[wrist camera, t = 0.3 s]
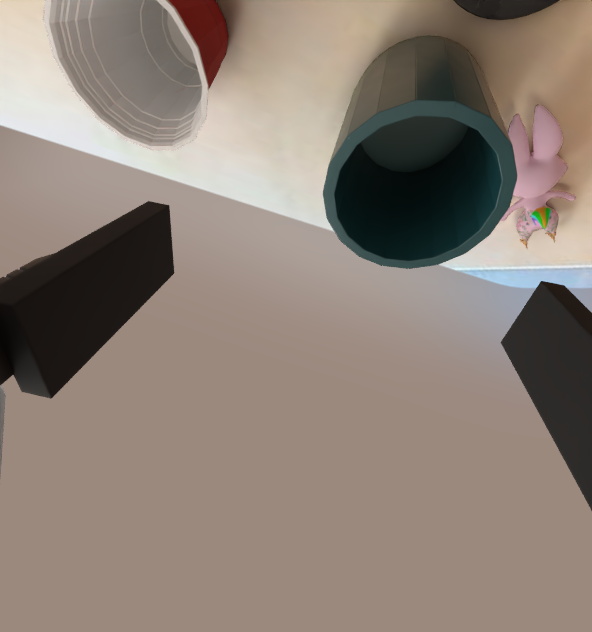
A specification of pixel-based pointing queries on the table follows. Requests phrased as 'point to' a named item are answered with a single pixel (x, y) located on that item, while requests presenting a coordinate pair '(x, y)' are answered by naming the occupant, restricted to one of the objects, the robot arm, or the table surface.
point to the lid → (503, 7)
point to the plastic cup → (140, 63)
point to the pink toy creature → (537, 173)
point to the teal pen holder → (420, 158)
